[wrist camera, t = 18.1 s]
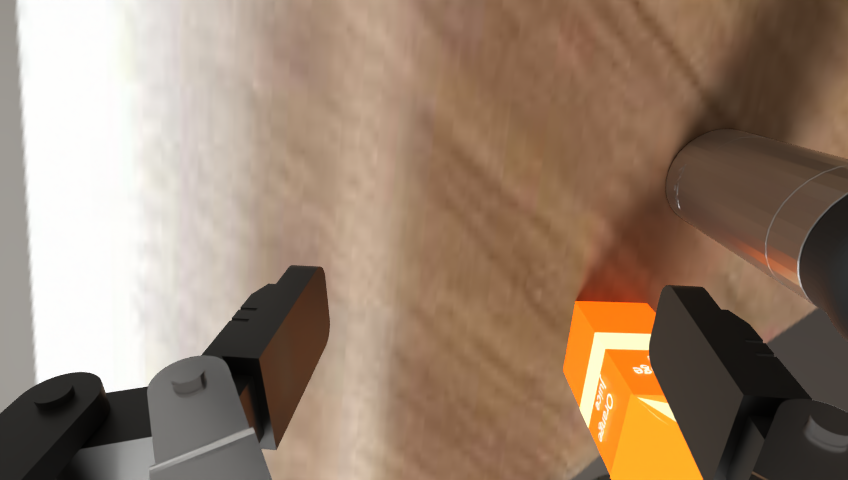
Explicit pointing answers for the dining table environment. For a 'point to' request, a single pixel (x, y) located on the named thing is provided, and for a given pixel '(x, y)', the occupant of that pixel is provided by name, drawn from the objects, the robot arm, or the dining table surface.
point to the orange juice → (624, 393)
